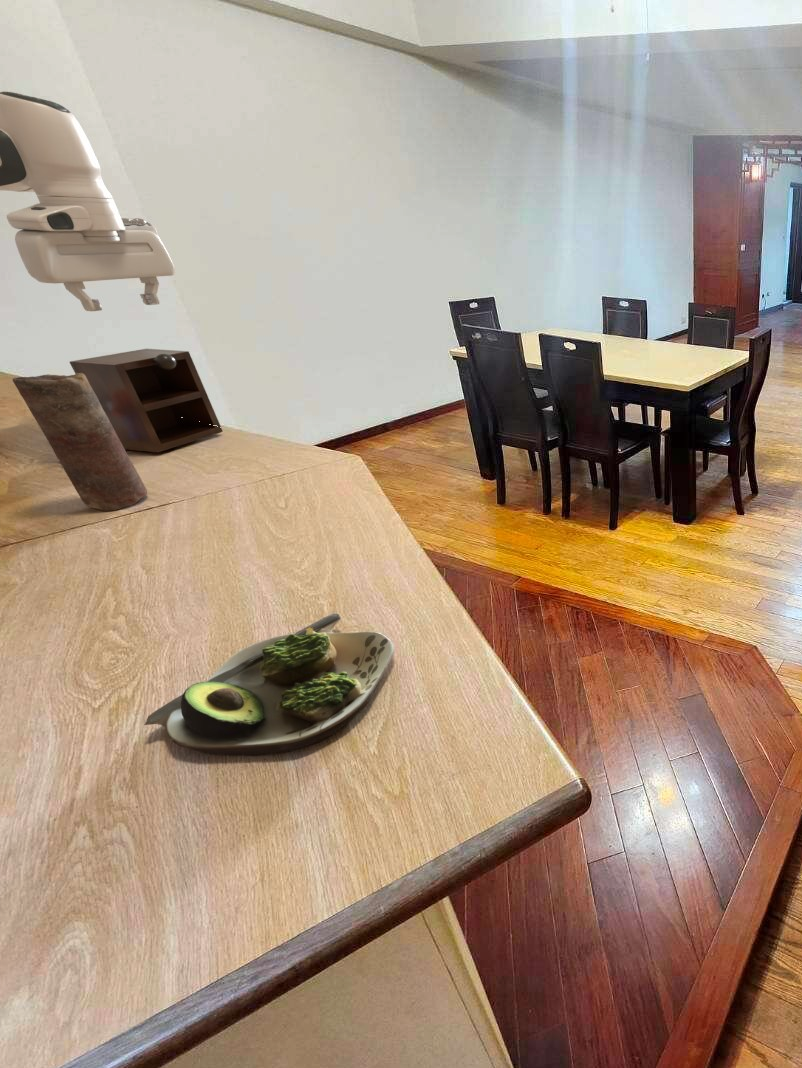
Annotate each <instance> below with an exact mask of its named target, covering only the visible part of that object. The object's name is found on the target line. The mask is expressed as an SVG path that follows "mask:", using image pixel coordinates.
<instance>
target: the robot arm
mask: <svg viewBox="0 0 802 1068" xmlns="http://www.w3.org/2000/svg"><path fill="white" fill-rule="evenodd" d="M98 160H99V159H98V158H97V155H96V153H95V151H94V149H93V146H92V145H91V142H90V140H89V139H88V136H87V135H86V133H85V130H84V129H83V128H82V125H81V124H80V123H79V121H78V119H77V118H76V117H75V116H74V114H73V113H72V112H71V111H70V110H69V109H68V108H66V107H65V106H63V105H62V104H59V103H56V102H54V101H51V100H47V99H43V98H40V97H35V96H30V95H26V94H22V93H18V92H12V91H0V191H5V192H19V193H35V195H36V197H37V199H38V201H39V203H35V204H34V205H31V206H27V207H24V208H21V209H18V210H15V211H14V210H13V211H11V212H9V213H7V214H6V219H7V222H8V224H9V225H10V226H11V227H12V228H14V229H16V230H18V231H17V232H16V234H15V236H14V242H15V245H16V248H17V251H18V253H19V256H20V259H21V260H22V263H23V265H24V267H25V270H26V271H27V273H28V275H30V277H31V278H33V279H34V280H36V281H37V282H39V283H42V284H63V286H64V288H65V290H67V291H68V292H69V293H70V294H71V295H72V296H74V297H75V298H76V299H78V300H79V301H80V303H81V305H82V308H83V309H84V310H85V311H86V312H101V311H102V310H103V307H102V305H101V302H100V300H99V299H98V298H97V299H96V298H91V296H90V295H89V294H88V293H86V292H85V291H84V290H85V289H86V285H85V284H84V283H85V282H97V281H114V280H126V279H127V280H129V279H139V280H140V283H141V284H144V290H143V291H144V292H143V293H140V294H139V295H140V298H141V300H142V302H143V304H144V305H147V306H154V305H160V303H161V302H160V300H159V297H158V290H159V286H160V282H159V280H158V277H171V276H174V274H175V270H176V267H175V265H174V262H173V261H172V258H171V256H170V254H169V252H168V250H167V249H166V247H165V245H164V243H163V241H162V240H161V238H160V235H159V232H158V231H157V227H155V226H154V225H153V224H151V222H148V221H145V219H143V218H138V217H137V218H126V217H125V218H124V217H121V214H120V211H119V209H118V206H117V204H116V201H115V199H114V197H113V195H112V194H111V192H110V191H109V190H108V188H107V187H106V185H105V183H104V180H103V177H102V168H101V165H100V163H99V161H98Z"/></svg>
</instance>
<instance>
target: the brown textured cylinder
mask: <svg viewBox="0 0 802 1068" xmlns="http://www.w3.org/2000/svg"><path fill="white" fill-rule="evenodd" d="M12 382H13V383H14V385H15V387H16V389H17V391H18V394H19V395H20V396H21V398H22V399H23V402H24V403H25V404H26V406H27V408H28V409H29V411H30V413H31V415H32V417H33V418H34V420H35V421H36V423H37V424H38V426H39V428H40V430H41V431H42V433H43V435H44V436H45V439H46V440H47V443H48V444H49V446H50V448H51V449H52V451H53V453H54V455H55V456H56V458H57V460H58V461H59V463H60V465H61V467H62V468H63V470H64V472H65V474H66V475H67V477H68V479H69V481H70V482H71V484H72V486H73V489H75V491H76V493H77V494H78V496H79V497H80V499H81V501H82V502H83V504H84V505H85V506H86V507H88V508H93V509H96V510H101V511H103V512H104V511H105V512H108V511H109V512H110V511H116V510H120V509H122V508H124V507H128V506H132V505H135V504H136V503H137V502H138V501H139V500H141V499H142V498H144V497H146V496H147V495H148V490H147V488H146V485H145V484H144V483H143V480H142V478H141V475H140V474H139V472H138V470H137V468H136V467H135V465H134V463H133V461H132V460H131V458H130V456H129V455H128V453H127V451H126V449H124V447H123V445H122V443H121V442H120V440H119V438H118V436H117V434H116V432H115V430H114V428H113V427H112V425H111V423H110V421H109V419H108V417H107V415H106V413H105V411H104V410H103V408H102V406H101V404H100V402H99V400H98V398H97V396H96V394H95V393H94V391H93V389H92V387H91V386H90V384H89V382H88V380H87V378H86V376H85V375H84V374H83V373H76V374H75V373H74V374H70V375H62V374H60V375H59V374H50V373H49V374H42V375H36V376H21V377H20V376H18V377H14V378H12Z"/></svg>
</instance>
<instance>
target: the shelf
mask: <svg viewBox="0 0 802 1068" xmlns="http://www.w3.org/2000/svg"><path fill="white" fill-rule="evenodd" d="M69 364H70V366H71V368H72V371H73V372H74V375H75V374H76V373H83V374H84V375H85V376H86V378H87V380H88V382H89V384H90V386H91V387H92V389H93V391H94V393H95V394H96V396H97V398H98V400H99V402H100V404H101V406H102V408H103V410H104V411H105V413H106V415H107V417H108V419H109V421H110V423H111V425H112V427H113V428H114V430H115V432H116V434H117V436H118V438H119V440H120V442H121V443H122V445H123V447H124V449H125V450H129V451H140V452H150V453H161V452H164V451H167V450H169V449H173V448H176V447H180V446H182V445H186V444H188V443H192V442H195V441H198V440H201V439H205V438H207V437H211V436H213V435H217V434H220V433H222V432H224V431H223V428H222V426H221V424H220V421H219V419H218V417H217V414H216V412H215V410H214V407H213V405H212V402H211V400H210V397H209V395H208V394H207V391H206V388H205V386H204V383H203V381H202V379H201V377H200V374H199V372H198V370H197V367H196V365H195V363H194V360H193V358H192V356H191V354H190V351H189V350H173V349H157V348H142V349H136V350H129V351H124V352H118V353H112V354H106V355H101V356H93V357H89V358H83V359H82V358H81V359H76V360H71V361H69ZM181 417H183V418H181ZM199 421H200V422H199ZM209 424H211V425H209ZM213 425H217V426H218V427H217V426H213ZM220 427H221V428H220Z"/></svg>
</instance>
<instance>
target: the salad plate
mask: <svg viewBox="0 0 802 1068" xmlns="http://www.w3.org/2000/svg"><path fill="white" fill-rule="evenodd" d="M340 615H341V614H339V613H331V614H329V615H327V616H324V617H322V618H320V619H319V620H317V621H315V622H314V623H311V624H309V625H308V626H306V627H304V628H302V629H300V630H298V631H297V632H295V633H287V634H281V635H277V636H273V637H270V638H267V639H263V640H261V641H258V642H255V643H253V644H251V645H248V646H246V647H244V648H242V649H240V650H239V651H238V652H236V653H235V654H233V655H232V657H230V658H229V659H228V660H226V661H225V662H224V663H223V664H222V665H221V666H220V667H219V668H218V669H217V670H216V671H215V672H214V673H213V674H212V675H211V676H210V677H209V678H207V680H206V681H200V682H197V683H194V684H192V685H189V686H188V687H187V688H186V689H185V690H184V692H183V693H182V694H181V695H179V696H176V698H174V699H172V700H171V701H168V702H167V703H165V704H164V705H162V706H161V707H159V708H158V709H156V710H154V711H153V712H152V713H150V714H149V715H148V716H147V718H146V721H145V723H144V724H143V726H149V725H160V726H162V727H163V728H165V730H166V733H167V735H168V738H170V740H171V741H172V742H173V743H175V744H176V745H178V746H180V747H182V748H186V749H188V750H191V751H195V752H198V753H202V754H205V755H221V756H238V757H239V756H240V757H243V756H244V757H247V756H248V757H257V756H258V757H259V756H268V755H270V756H271V755H277V754H284V753H288V752H292V751H296V750H299V749H303V748H306V747H309V746H312V745H316V744H318V743H320V742H322V741H324V740H326V739H328V738H330V737H331V736H333V735H334V734H336V733H337V732H339V731H340V730H341V729H342V728H343V727H345V726H346V725H347V724H348V723H349V722H350V721H352V720H353V719H354V718H355V717H356V716H357V715H359V713H360V712H361V711H362V710H363V709H364V708H365V707H366V706H367V705H368V704H369V703H370V701H371V700H372V697H373V695H374V691H375V689H376V687H377V686H378V684H379V683H380V682H381V680H382V678H383V677H384V676H385V673H386V672H387V670H388V667H389V665H390V662H391V660H392V658H393V656H394V655H395V646H394V642H393V641H392V640H391V639H390V638H389V637H388V636H386V635H385V634H383V633H381V632H377V631H353V632H352V631H350V632H333V629H334V628H335V626H336V625H337V624H338V623H339V622H340V621H341V619H342V617H341V616H340Z"/></svg>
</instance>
